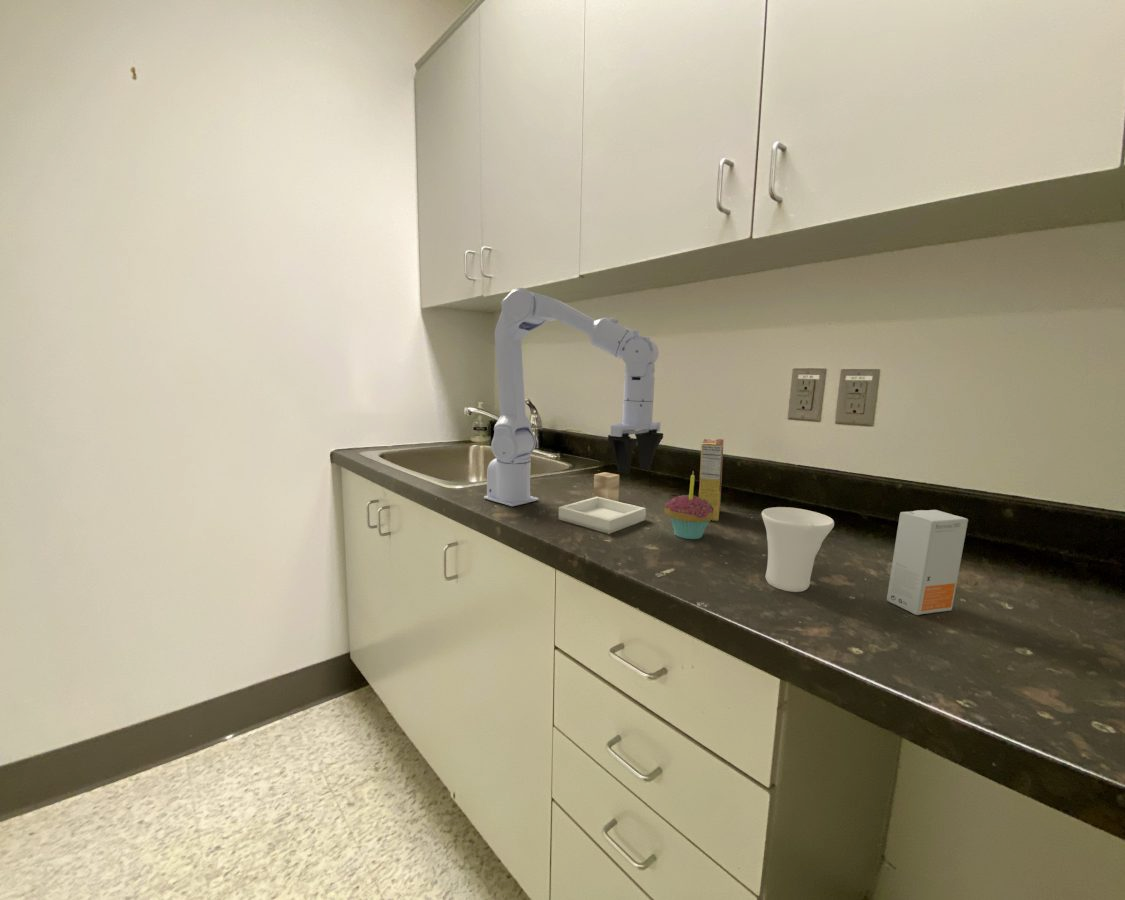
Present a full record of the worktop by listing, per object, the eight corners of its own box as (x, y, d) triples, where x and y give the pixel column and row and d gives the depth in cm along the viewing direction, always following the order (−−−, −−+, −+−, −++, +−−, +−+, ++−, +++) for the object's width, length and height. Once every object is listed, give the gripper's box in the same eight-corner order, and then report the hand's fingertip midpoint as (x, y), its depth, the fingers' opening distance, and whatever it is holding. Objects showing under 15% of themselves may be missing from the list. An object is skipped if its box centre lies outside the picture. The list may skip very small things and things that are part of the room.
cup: (765, 596, 62) (772, 522, 61) (748, 568, 71) (754, 503, 70) (838, 602, 61) (848, 527, 60) (811, 573, 70) (819, 507, 69)
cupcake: (715, 544, 81) (721, 475, 79) (664, 540, 82) (668, 472, 81) (708, 529, 90) (713, 465, 88) (662, 525, 91) (666, 463, 89)
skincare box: (917, 617, 58) (932, 521, 56) (885, 601, 62) (898, 511, 60) (954, 611, 60) (970, 518, 58) (920, 596, 64) (934, 508, 62)
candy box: (699, 507, 104) (704, 437, 102) (720, 510, 103) (725, 439, 100) (695, 519, 96) (701, 443, 93) (718, 521, 94) (724, 444, 92)
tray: (558, 519, 93) (558, 507, 93) (596, 507, 102) (596, 496, 101) (608, 534, 85) (609, 520, 85) (645, 520, 94) (645, 508, 94)
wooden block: (593, 500, 107) (594, 474, 106) (603, 497, 110) (604, 472, 109) (607, 504, 105) (608, 477, 104) (618, 501, 108) (619, 474, 107)
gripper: (634, 403, 84) (631, 478, 86) (675, 401, 95) (671, 468, 97) (602, 400, 89) (599, 472, 91) (644, 399, 100) (641, 463, 102)
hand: (634, 470), depth 94 cm, fingers open, 7 cm apart
